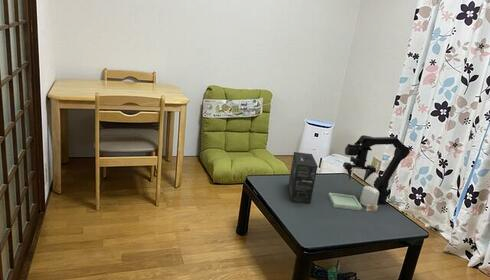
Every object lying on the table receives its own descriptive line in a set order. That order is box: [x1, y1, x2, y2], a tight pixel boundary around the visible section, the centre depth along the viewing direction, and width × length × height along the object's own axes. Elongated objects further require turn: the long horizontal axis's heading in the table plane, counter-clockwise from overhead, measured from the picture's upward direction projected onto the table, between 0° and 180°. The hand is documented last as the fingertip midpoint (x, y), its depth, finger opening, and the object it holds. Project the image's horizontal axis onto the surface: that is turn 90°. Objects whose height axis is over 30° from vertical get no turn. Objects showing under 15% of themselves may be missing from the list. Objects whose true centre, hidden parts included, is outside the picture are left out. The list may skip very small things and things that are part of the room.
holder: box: [358, 194, 379, 213], centre depth 228 cm, size 6×14×4 cm, turn 0°
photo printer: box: [359, 185, 379, 207], centre depth 227 cm, size 10×4×12 cm, turn 36°
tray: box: [328, 192, 363, 211], centre depth 227 cm, size 16×16×2 cm
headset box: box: [288, 151, 319, 204], centre depth 228 cm, size 22×12×26 cm, turn 179°
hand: (356, 180), depth 231 cm, fingers open, 9 cm apart
